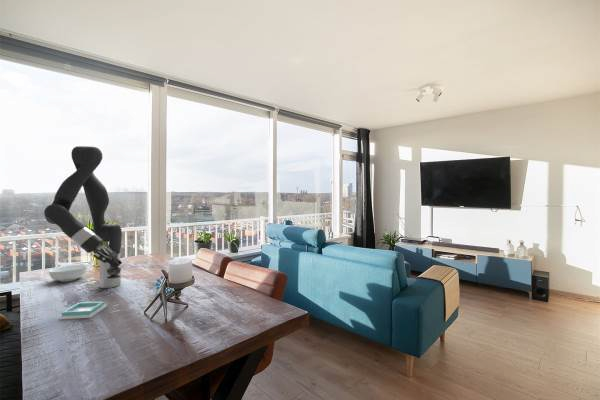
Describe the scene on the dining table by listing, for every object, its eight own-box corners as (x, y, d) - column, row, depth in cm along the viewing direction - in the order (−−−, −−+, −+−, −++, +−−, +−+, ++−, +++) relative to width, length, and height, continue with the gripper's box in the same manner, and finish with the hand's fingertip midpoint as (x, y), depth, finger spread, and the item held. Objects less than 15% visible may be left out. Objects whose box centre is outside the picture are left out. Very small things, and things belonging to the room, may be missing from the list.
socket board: (78, 307, 124) (78, 302, 124) (106, 306, 125) (106, 300, 125) (59, 319, 112) (59, 313, 112) (90, 317, 114) (90, 311, 114)
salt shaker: (110, 275, 132) (110, 249, 132) (124, 275, 132) (124, 249, 132) (103, 279, 126) (103, 252, 126) (117, 278, 126) (117, 251, 126)
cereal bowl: (81, 274, 177) (81, 262, 177) (91, 278, 167) (91, 266, 167) (45, 280, 163) (45, 268, 163) (54, 286, 153) (54, 273, 153)
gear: (155, 292, 138) (156, 274, 145) (153, 298, 142) (155, 280, 148) (179, 291, 144) (179, 274, 150) (177, 297, 147) (177, 280, 154)
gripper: (87, 235, 120) (120, 262, 124) (100, 231, 133) (129, 256, 137) (72, 249, 118) (106, 275, 122) (87, 243, 132) (117, 267, 136)
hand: (118, 265), depth 130 cm, fingers closed on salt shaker, 3 cm apart
